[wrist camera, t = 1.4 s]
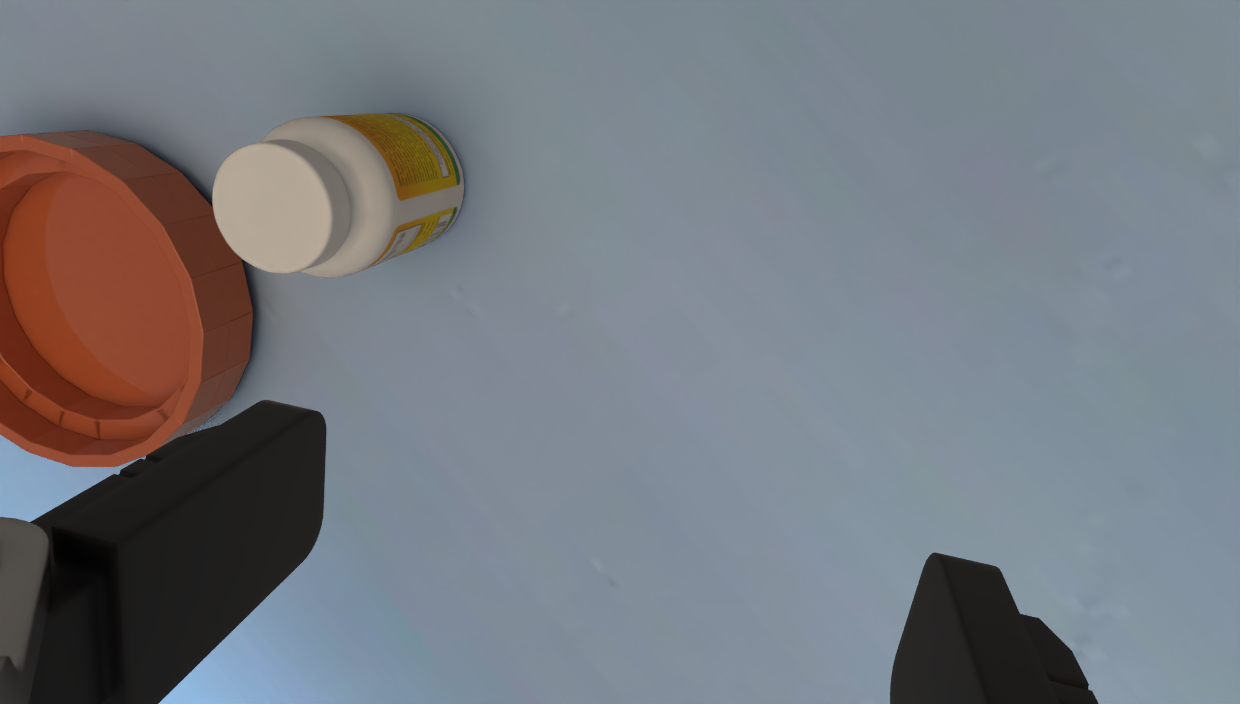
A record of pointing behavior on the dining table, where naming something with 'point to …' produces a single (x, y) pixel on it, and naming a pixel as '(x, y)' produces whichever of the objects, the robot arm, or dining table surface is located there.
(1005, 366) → the dining table surface
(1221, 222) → the dining table surface
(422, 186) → the supplement bottle
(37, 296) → the bowl
